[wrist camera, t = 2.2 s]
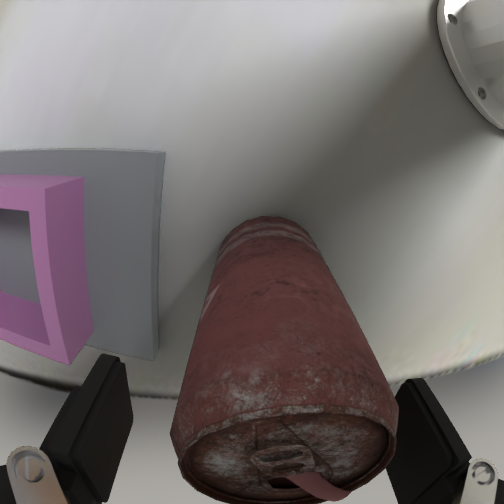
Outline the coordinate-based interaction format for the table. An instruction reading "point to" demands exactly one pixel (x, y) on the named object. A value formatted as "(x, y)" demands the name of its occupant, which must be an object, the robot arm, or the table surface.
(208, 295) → the can
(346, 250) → the table surface
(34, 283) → the cup holder
